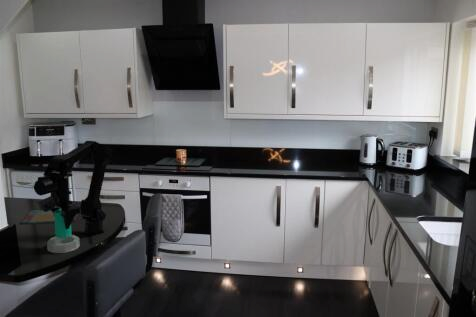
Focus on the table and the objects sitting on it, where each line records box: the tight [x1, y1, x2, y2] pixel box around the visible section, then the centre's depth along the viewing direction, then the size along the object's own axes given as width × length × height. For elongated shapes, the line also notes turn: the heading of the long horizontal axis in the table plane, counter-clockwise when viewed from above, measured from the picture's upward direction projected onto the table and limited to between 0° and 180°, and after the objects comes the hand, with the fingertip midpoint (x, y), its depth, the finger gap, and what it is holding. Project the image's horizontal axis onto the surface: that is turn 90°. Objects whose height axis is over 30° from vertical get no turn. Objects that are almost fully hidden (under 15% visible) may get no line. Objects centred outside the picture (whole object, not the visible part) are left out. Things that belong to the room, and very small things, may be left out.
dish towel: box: [20, 209, 79, 225], centre depth 193 cm, size 17×23×2 cm
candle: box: [54, 209, 73, 238], centre depth 158 cm, size 6×6×12 cm
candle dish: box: [46, 234, 81, 254], centre depth 159 cm, size 12×12×3 cm
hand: (63, 226), depth 158 cm, fingers closed on candle, 7 cm apart
